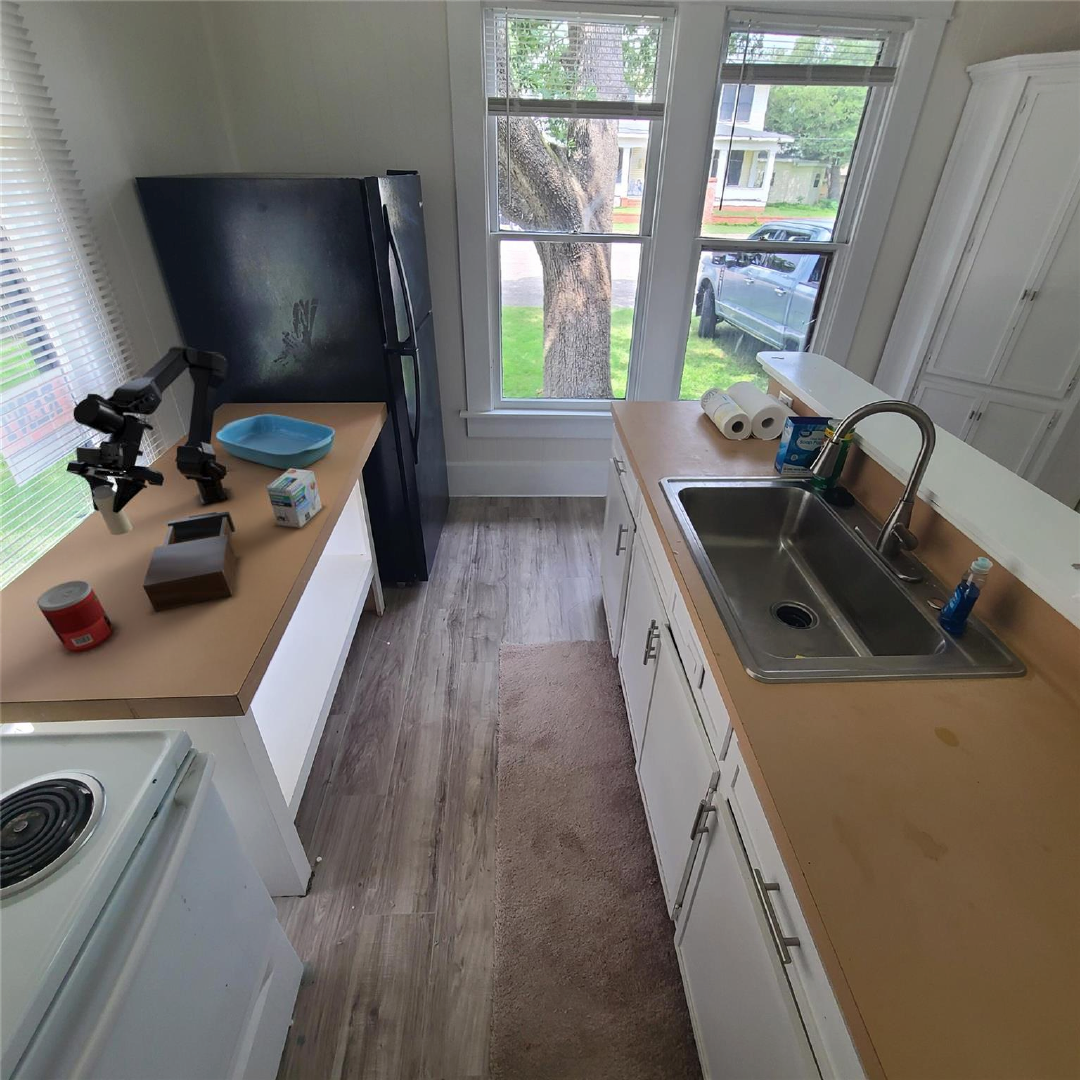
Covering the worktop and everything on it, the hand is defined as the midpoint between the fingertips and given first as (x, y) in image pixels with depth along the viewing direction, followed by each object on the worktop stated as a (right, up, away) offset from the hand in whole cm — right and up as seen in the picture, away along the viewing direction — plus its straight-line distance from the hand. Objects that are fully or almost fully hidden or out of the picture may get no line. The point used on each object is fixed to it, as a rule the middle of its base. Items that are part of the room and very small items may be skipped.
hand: (106, 511), depth 122 cm
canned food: (+7, -25, -13) cm, 29 cm away
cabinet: (+19, -16, +1) cm, 25 cm away
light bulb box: (+31, 0, +24) cm, 40 cm away
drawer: (+14, -7, +12) cm, 20 cm away
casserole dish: (+13, +20, +54) cm, 60 cm away
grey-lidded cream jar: (0, -4, +4) cm, 6 cm away
